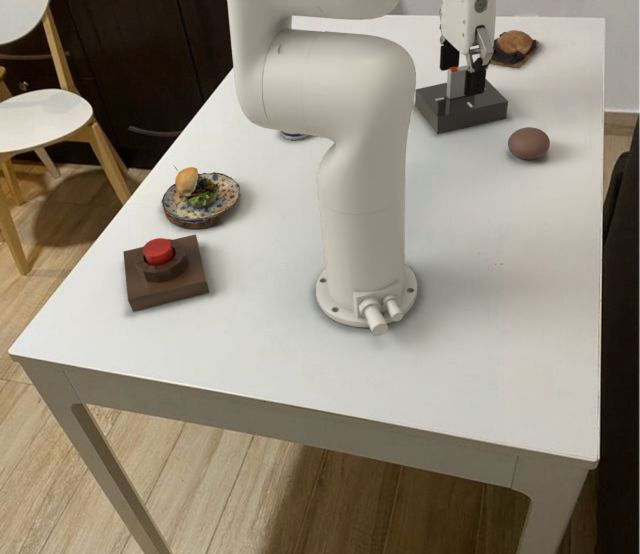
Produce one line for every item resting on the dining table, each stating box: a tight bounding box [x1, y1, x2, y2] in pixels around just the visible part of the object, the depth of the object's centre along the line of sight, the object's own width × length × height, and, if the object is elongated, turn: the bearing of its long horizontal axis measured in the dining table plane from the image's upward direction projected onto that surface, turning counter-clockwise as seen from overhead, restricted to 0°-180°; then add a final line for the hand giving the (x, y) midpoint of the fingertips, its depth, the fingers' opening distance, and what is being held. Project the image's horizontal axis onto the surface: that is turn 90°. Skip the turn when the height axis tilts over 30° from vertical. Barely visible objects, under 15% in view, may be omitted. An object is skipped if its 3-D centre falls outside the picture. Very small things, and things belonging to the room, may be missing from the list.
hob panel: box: [414, 79, 509, 135], centre depth 109 cm, size 10×12×3 cm
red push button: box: [142, 237, 174, 266], centre depth 84 cm, size 4×4×2 cm
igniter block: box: [122, 234, 210, 313], centre depth 86 cm, size 10×10×4 cm
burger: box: [161, 164, 241, 229], centre depth 96 cm, size 12×12×8 cm
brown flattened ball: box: [507, 126, 551, 161], centre depth 98 cm, size 6×6×4 cm
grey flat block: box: [446, 64, 468, 99], centre depth 106 cm, size 4×1×5 cm, turn 104°
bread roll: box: [490, 29, 540, 69], centre depth 121 cm, size 11×8×4 cm
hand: (461, 81), depth 105 cm, fingers open, 9 cm apart
